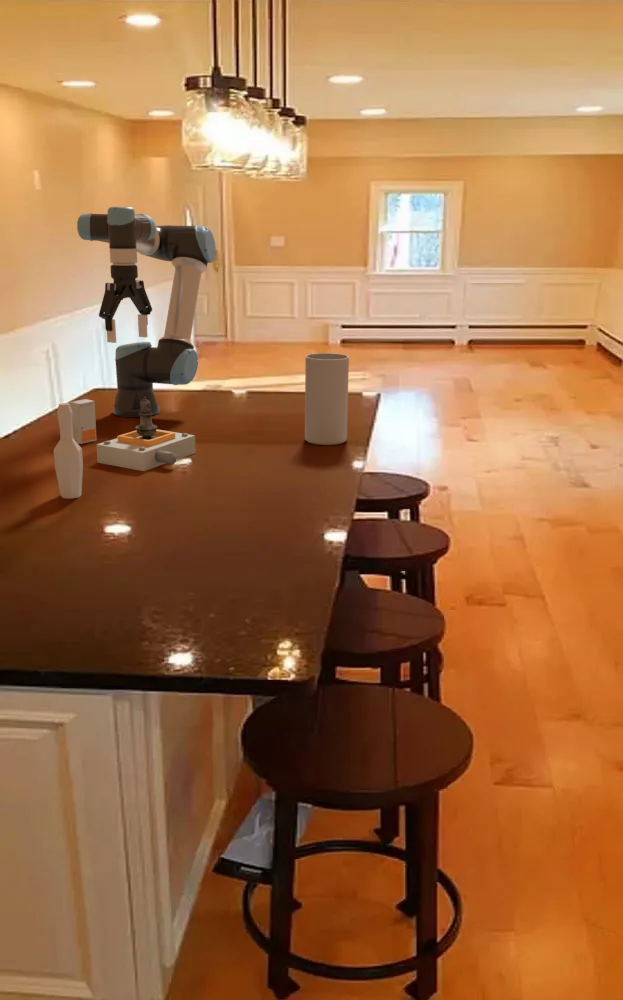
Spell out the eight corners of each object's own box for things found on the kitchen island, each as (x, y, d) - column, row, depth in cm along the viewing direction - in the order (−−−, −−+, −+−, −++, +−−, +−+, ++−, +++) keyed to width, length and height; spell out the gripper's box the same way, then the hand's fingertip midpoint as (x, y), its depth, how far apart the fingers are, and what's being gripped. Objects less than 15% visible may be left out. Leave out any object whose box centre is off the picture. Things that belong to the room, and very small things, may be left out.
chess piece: (153, 443, 235) (151, 399, 231) (132, 441, 236) (130, 397, 232) (161, 438, 240) (159, 394, 237) (140, 436, 242) (138, 393, 238)
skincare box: (81, 444, 252) (78, 403, 249) (71, 442, 255) (68, 401, 251) (97, 440, 257) (95, 400, 253) (88, 438, 259) (85, 398, 256)
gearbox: (150, 445, 253) (149, 423, 251) (210, 455, 243) (209, 432, 241) (97, 462, 235) (96, 438, 233) (159, 474, 225) (158, 449, 223)
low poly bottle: (57, 500, 203) (49, 407, 196) (57, 492, 209) (49, 401, 202) (85, 498, 205) (78, 406, 198) (84, 490, 211) (78, 400, 204)
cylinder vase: (300, 444, 256) (300, 358, 248) (310, 434, 268) (311, 352, 260) (342, 447, 253) (344, 360, 245) (350, 437, 265) (352, 354, 257)
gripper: (142, 261, 260) (145, 334, 267) (82, 265, 239) (87, 343, 246) (162, 262, 256) (165, 335, 263) (103, 266, 236) (108, 345, 242)
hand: (127, 339), depth 254 cm, fingers open, 13 cm apart
